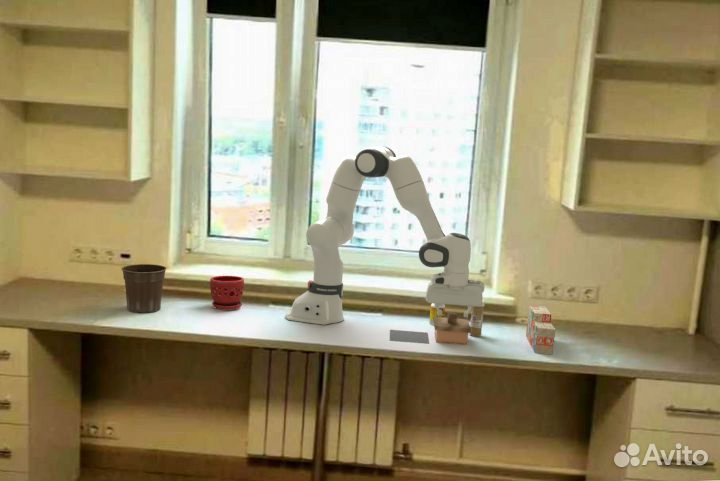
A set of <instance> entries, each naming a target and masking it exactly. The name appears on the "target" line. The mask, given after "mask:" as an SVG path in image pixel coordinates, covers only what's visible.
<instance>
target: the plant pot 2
mask: <svg viewBox="0 0 720 481" xmlns="http://www.w3.org/2000/svg"><path fill="white" fill-rule="evenodd" d="M209 285H210V286H209V287H210V294H211V298H212V303H211V305H212V306H213V308H215V309H217V310H222V311H233V310H235V311H236V310H237V309H239V308H240V307H242V305H243V303H242V301H241V300H242V297H243V294H244V286H245V278H244V277H242V276H237V275H216V276H211V277H210V282H209Z"/></svg>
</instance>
